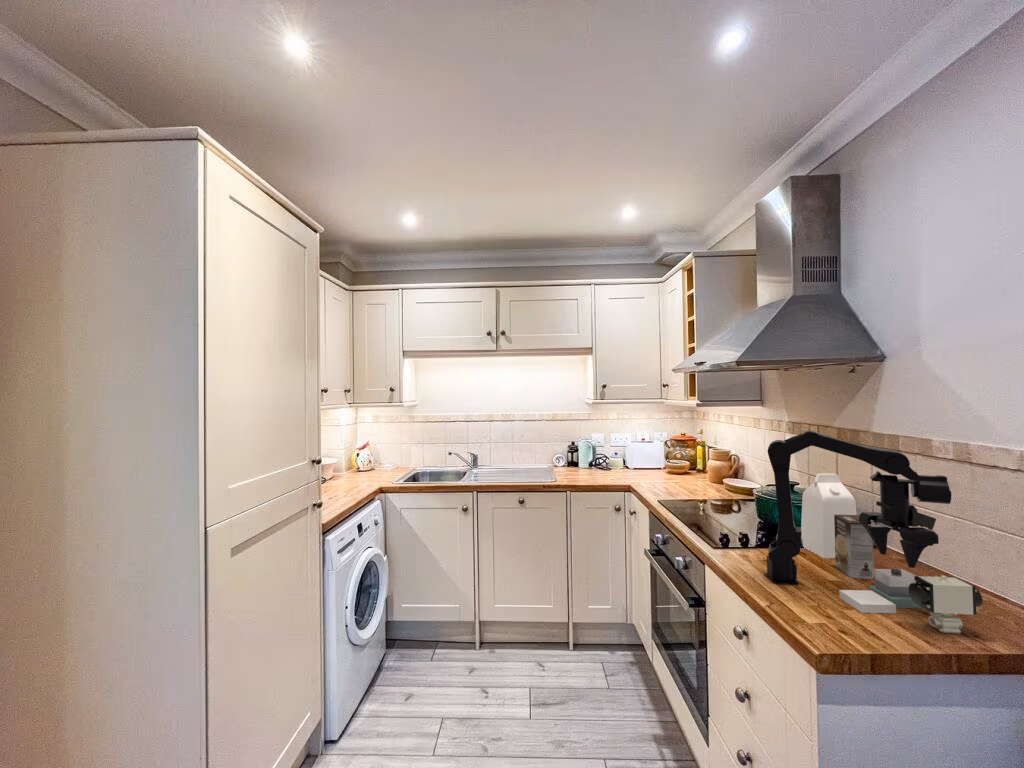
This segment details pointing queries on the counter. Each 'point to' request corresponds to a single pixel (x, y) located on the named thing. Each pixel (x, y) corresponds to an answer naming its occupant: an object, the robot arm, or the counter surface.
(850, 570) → the coffee box
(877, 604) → the stand
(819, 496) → the milk
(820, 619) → the counter surface
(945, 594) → the pneumatic valve
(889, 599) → the stand
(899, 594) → the block
